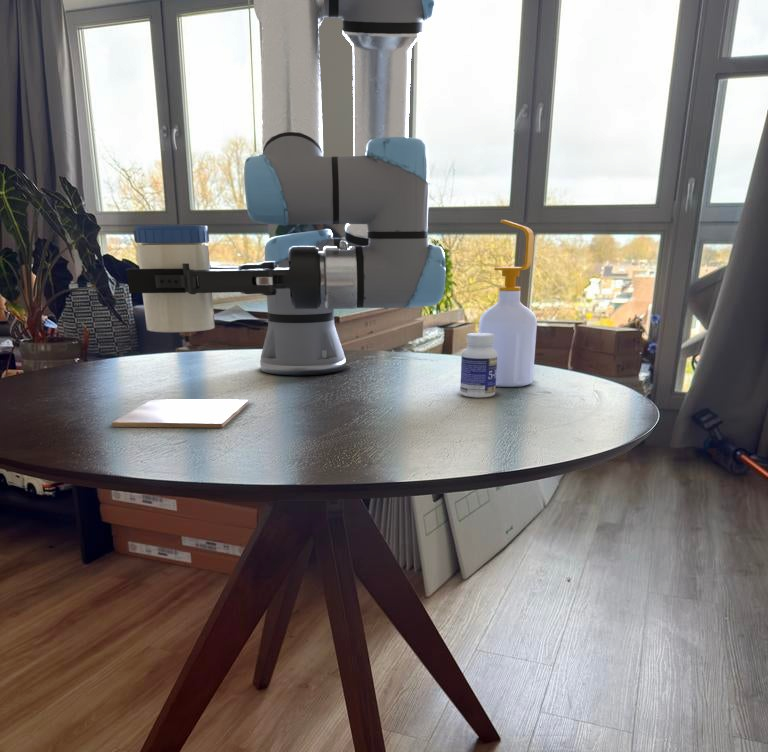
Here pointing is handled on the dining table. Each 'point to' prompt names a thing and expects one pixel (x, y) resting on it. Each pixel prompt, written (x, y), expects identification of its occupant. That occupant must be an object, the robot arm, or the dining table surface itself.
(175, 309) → the jar
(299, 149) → the robot arm
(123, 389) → the dining table surface
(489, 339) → the pill bottle
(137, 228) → the lid
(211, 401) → the mat
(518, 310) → the soap bottle
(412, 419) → the dining table surface
